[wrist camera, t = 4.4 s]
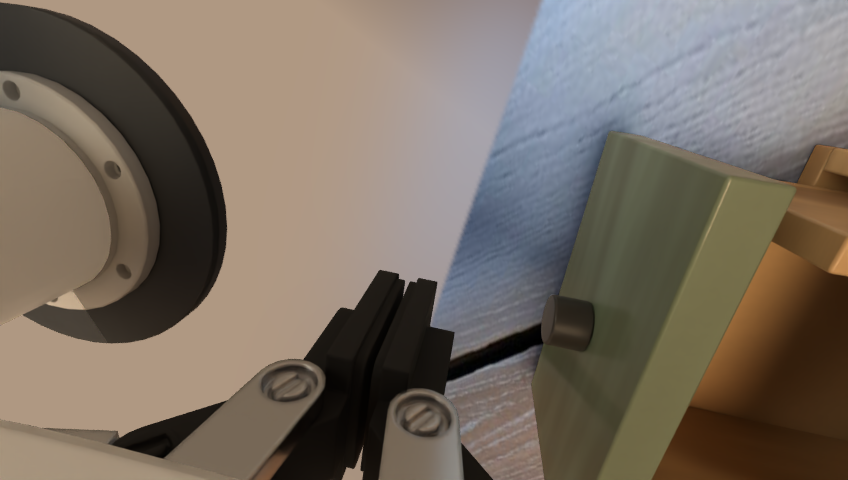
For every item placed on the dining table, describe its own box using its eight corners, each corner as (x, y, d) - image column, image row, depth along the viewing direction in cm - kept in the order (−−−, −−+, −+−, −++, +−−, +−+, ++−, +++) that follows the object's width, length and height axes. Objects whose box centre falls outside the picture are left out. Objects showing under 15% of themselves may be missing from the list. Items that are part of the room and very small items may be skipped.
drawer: (504, 378, 19) (513, 563, 11) (574, 124, 14) (658, 163, 7) (847, 453, 17) (1099, 713, 10) (1033, 198, 13) (1688, 336, 6)
